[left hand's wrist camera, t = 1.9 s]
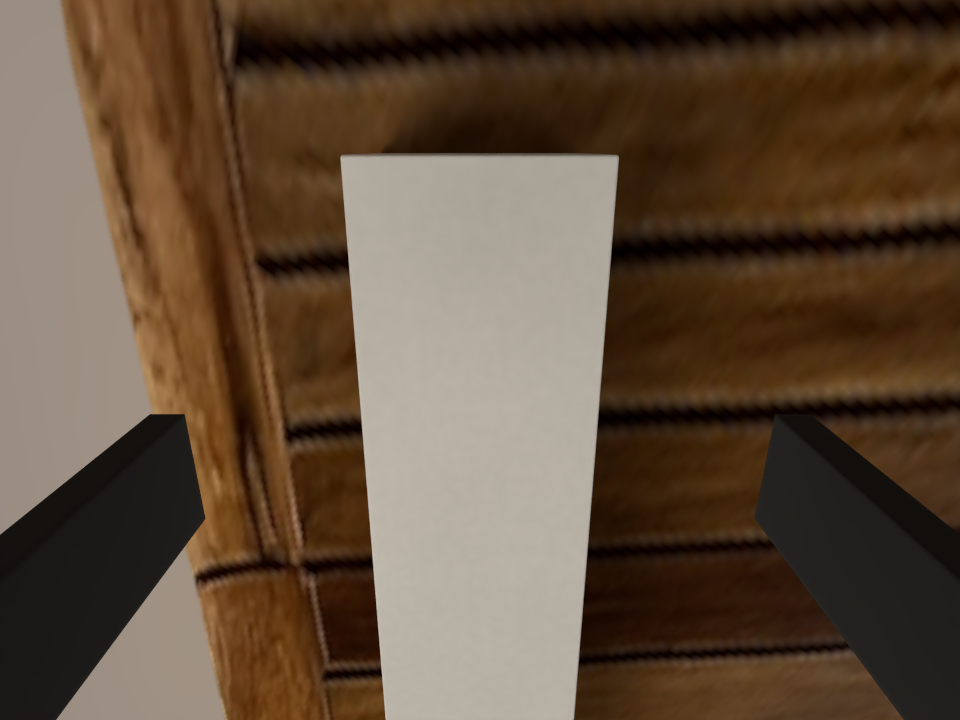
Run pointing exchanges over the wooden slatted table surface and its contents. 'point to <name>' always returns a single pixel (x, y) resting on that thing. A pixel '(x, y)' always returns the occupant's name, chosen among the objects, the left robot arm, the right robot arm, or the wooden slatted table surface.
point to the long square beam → (479, 418)
